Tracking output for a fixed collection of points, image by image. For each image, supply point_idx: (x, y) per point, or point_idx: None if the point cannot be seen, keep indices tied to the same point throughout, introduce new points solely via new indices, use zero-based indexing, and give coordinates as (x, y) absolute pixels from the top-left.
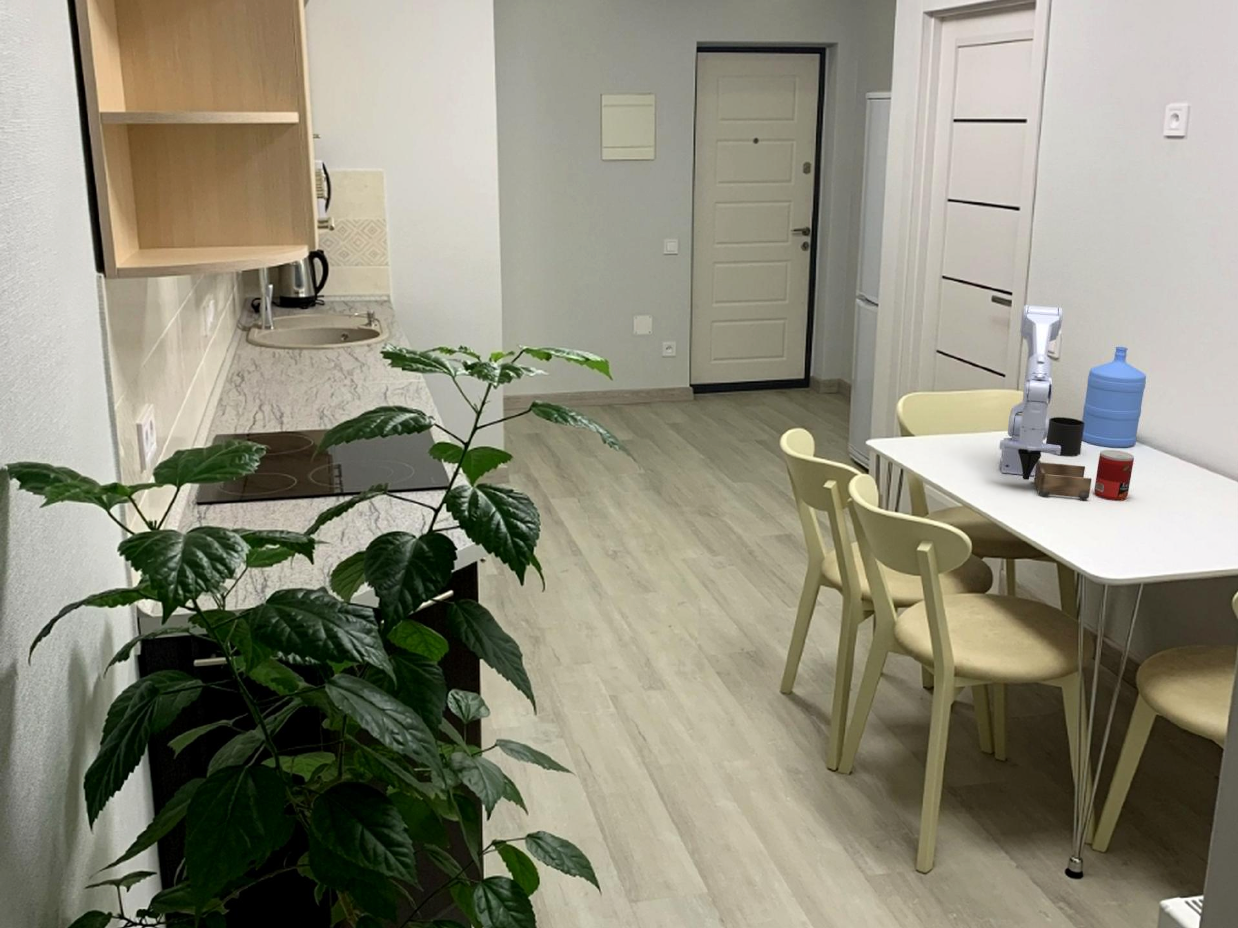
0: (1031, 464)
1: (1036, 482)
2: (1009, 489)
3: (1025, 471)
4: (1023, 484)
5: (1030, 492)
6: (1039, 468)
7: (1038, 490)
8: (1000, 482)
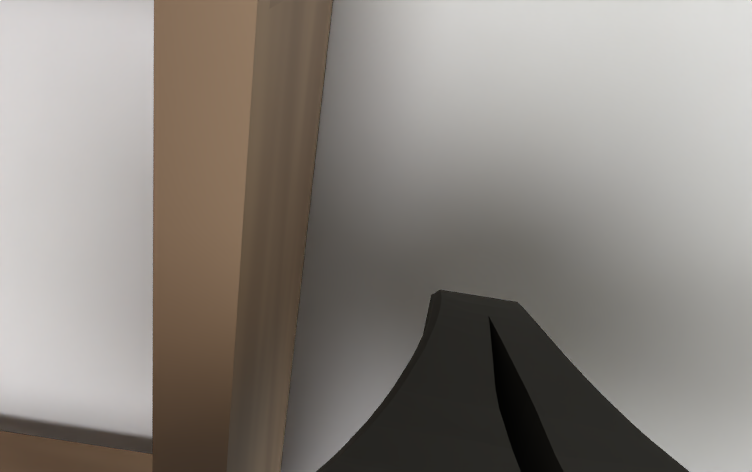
0: (460, 446)
1: (290, 337)
2: (711, 166)
3: (540, 363)
4: None
5: (434, 70)
6: (237, 417)
7: (326, 28)
8: (700, 431)
